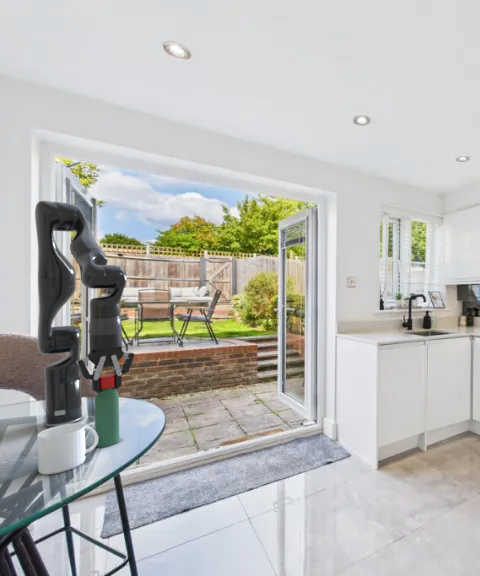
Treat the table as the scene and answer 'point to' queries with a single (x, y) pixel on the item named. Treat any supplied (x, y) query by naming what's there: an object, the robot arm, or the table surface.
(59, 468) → the mug
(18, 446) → the table surface
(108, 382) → the cap
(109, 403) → the bottle
